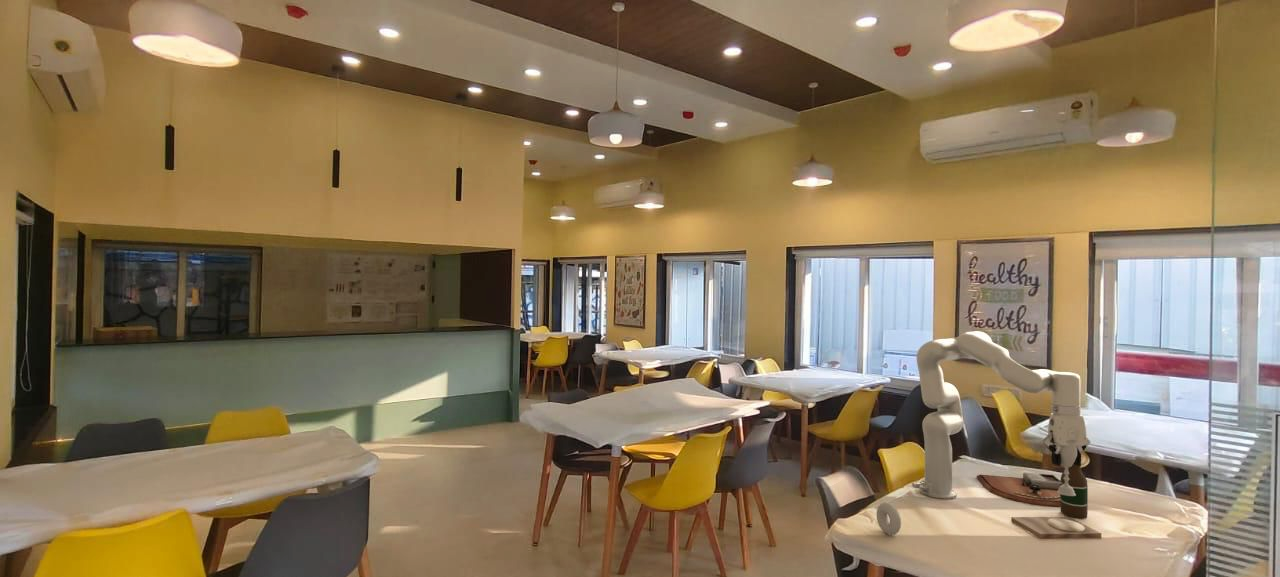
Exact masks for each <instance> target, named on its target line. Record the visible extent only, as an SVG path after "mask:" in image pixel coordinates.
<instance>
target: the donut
mask: <svg viewBox="0 0 1280 577" xmlns="http://www.w3.org/2000/svg"><path fill="white" fill-rule="evenodd" d="M875 516H876V521H877V524H878V526H879V528H880V529H881V531H882V532H883V533H885V534H886V533H887V534H886V535H888V534H890V535H889V536H895V535H896V534H898V533H899V532H900V530H901V527H902V520H901V516H900V512H899V510H898V509H897V507H896V506H895V505H893V503H890V502H885V501H884V502H882V503H880V504H879V505H878V507H877V509H876V515H875ZM888 518H889V519H888Z"/></svg>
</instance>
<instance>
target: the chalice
mask: <svg viewBox="0 0 1280 577" xmlns="http://www.w3.org/2000/svg"><path fill="white" fill-rule="evenodd" d="M1066 442H1067V443H1068V444H1069V446H1061V449H1060V452H1059V454H1061V466H1062V467H1064V471H1063V472H1064V474H1065V477H1064V478H1063V479H1064V480H1065V484H1064V485H1061V486H1060V488H1059V490H1058V491H1057V493H1059V494H1062V495H1066V496H1076V494H1075V493H1074V490H1073V488H1072V487H1071V486H1069V484H1068V480H1069V478H1068V474H1069V472H1068V467H1071V466H1072V465H1073V463H1074V461H1075V460H1076V457H1077V446H1076V445H1075V444H1076V443H1077V442H1078V441H1066ZM1056 446H1057V445H1056Z"/></svg>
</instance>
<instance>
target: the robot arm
mask: <svg viewBox="0 0 1280 577" xmlns="http://www.w3.org/2000/svg"><path fill="white" fill-rule="evenodd" d="M968 357H969V358H972V359H974V360H976V361H977V362H979V363H980V364H983V365H985V366H986V367H988V368H990V369H991V370H993V371H994V372H995V373H996V374H997V375H998V376H999V377H1000V378H1001V379H1002V380H1004V381H1006V383H1009V384H1010V385H1013V386H1014V387H1015V388H1018V389H1020V390H1021V391H1024V392H1026V393H1030V394H1039V393H1045V392H1052V393H1051V394H1052V395H1051V396H1052V399H1051V400H1052V402H1051V404H1052V406H1050V407H1049V411H1050V412H1052V413H1050V416H1049V420H1048V421H1049V422H1048V429H1047V435H1046V437H1044V438H1043V439H1042V441H1041V442H1042V444H1044V446H1046V448H1047V449H1048V450H1049V452H1051V464H1053V465H1054V466H1057V467H1061V466H1062V465H1061V454H1059V452H1060V449H1061V446H1069V444H1068V443H1067V442H1066V441H1078V442H1077V443H1076V444H1075V445H1076V446H1077V457H1076V460H1075V461H1074V463H1073V464H1075V465H1078V466H1082V454H1084V451H1085V450H1086V449H1087V447H1088V446H1089V445H1090V444H1091V440H1089V438H1088V437H1087V428H1086V422H1085V419H1084V415H1083V414H1081V376H1080V375H1079V374H1077V373H1074V372H1069V371H1067V372H1066V371H1055V370H1051V369H1046V368H1045V369H1044V368H1040V369H1032V370H1031V369H1030V368H1028V367H1025V366H1024V365H1021V364H1020V363H1018V362H1016V361H1015V360H1014V359H1012V358H1011V357H1010V352H1009V350H1008V349H1006V348H1005V347H1003V346H1001V345H999V344H997V343H996V342H995V343H994V342H993V340H992V338H991V337H990V336H989V335H988V334H987V333H985V332H983V331H979V330H978V331H965V332H964V333H961V334H959V336H956V337H951V338H950V337H949V338H940V339H933V340H930V341H927V342H925V343H924V344H922V345H921V346H920V348H919V349H918V351H917V353H916V364H917V370H918V375H919V383H920V390H921V398H922V401H923V404H924V405H925V406H926V407H928V408H929V409H937V411H934V412H930V413H928V414H927V415H926V416H925V417H924V418H923V420H922V432H923V440H924V479H922V480H921V481H920V482H912V483H911V486H912V488H913V489H919V491H920V492H921V494H923V493H924V494H923V495H925V496H927V495H928V497H932V498H936V499H946V500H948V499H954V498H956V497H957V495H958V494H957V491H955V490H953V447H952V441H951V438H950V436H951V435H955V434H958V433H959V432H960V431H961V430H962V429H963V427H964V416H963V410H962V408H963V407H962V404H961V403H962V402H961V397H960V396H961V395H960V394H959V393H960V392H959V391H958V389H957V388H956V387H955V385H954V384H951V383H950V382H945V380H944V373H943V369H942V367H941V366H940V363H941V362H947V361H955V360H959V359H965V358H968ZM1056 445H1057V446H1056Z"/></svg>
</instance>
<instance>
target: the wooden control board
mask: <svg viewBox="0 0 1280 577" xmlns="http://www.w3.org/2000/svg"><path fill="white" fill-rule="evenodd" d="M976 479H977V480H978V481H979V483H980V484H981V485H982V486H983V487H984V488H985V489H986V490H987V491H989V492H990V493H992V494H993V495H995V496H998V497H1000V498H1003V499H1006V500H1010V501H1013V502H1017V503H1021V504H1027V505H1032V506H1040V507H1050V508H1060V494H1059V493H1057V491H1058V490H1059V488H1060V481H1061V479H1059V478H1058V477H1057V476H1056V475H1054V474H1046V473H1036V472H1023V473H1022V477H1013V476H1002V475H1001V476H999V475H990V474H988V475H987V474H978V475H976Z"/></svg>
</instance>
